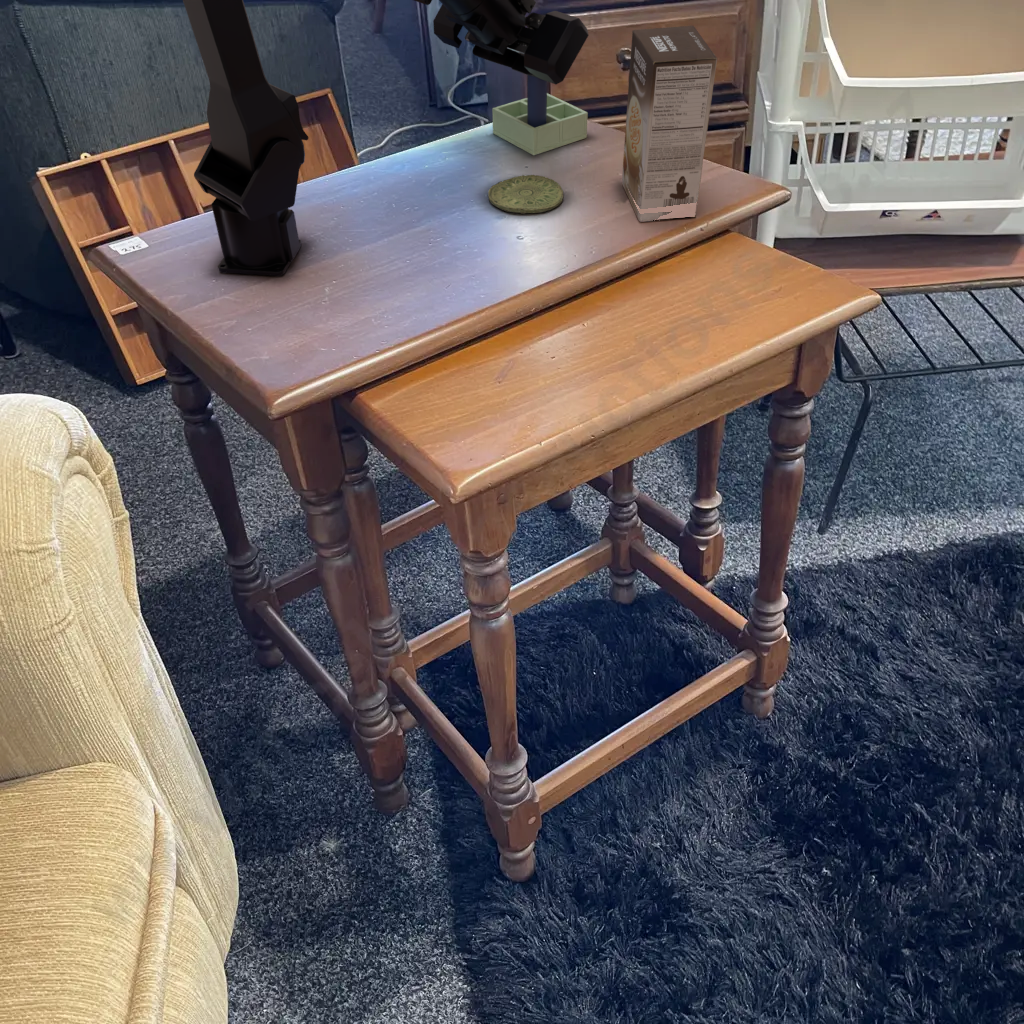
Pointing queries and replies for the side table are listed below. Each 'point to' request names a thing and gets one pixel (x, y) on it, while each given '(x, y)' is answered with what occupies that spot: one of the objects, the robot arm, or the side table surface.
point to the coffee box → (666, 117)
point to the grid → (559, 130)
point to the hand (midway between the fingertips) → (546, 74)
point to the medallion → (526, 194)
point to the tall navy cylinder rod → (536, 101)
